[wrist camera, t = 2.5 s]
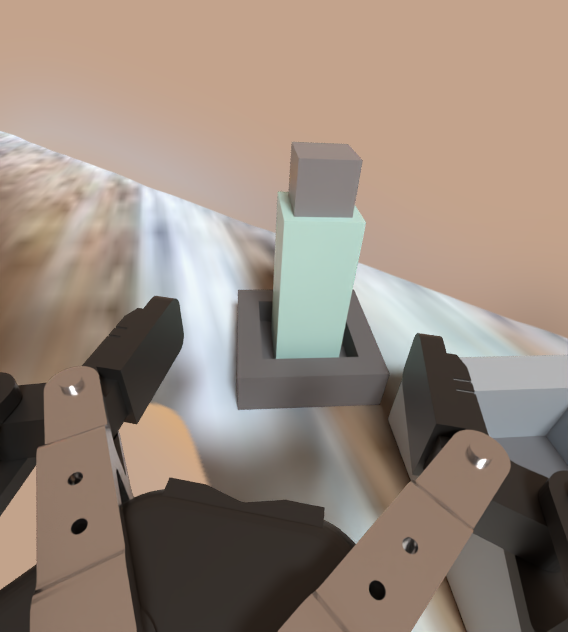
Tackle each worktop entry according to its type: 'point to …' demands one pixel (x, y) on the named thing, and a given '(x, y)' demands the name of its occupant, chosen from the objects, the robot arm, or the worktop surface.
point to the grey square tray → (305, 363)
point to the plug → (316, 251)
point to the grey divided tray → (522, 448)
